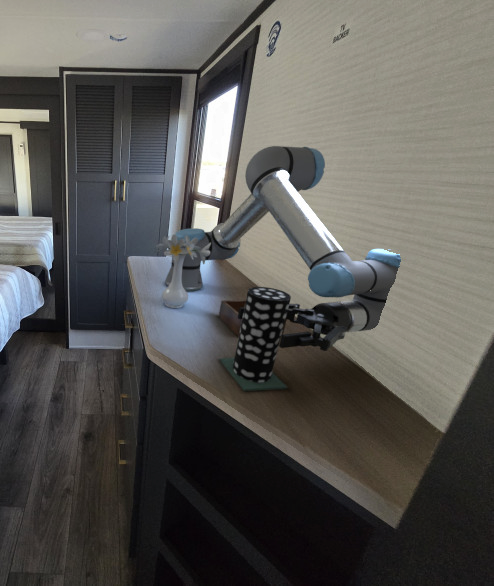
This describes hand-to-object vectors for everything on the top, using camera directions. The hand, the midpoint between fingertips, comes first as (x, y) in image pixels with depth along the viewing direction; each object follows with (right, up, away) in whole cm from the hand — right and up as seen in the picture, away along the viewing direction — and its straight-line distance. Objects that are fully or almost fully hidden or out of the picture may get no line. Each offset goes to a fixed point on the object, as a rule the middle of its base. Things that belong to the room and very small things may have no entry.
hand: (258, 326), depth 69 cm
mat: (+1, -12, +6) cm, 13 cm away
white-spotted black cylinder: (+1, -12, +5) cm, 13 cm away
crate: (+12, -3, +29) cm, 31 cm away
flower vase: (-8, +3, +44) cm, 45 cm away
